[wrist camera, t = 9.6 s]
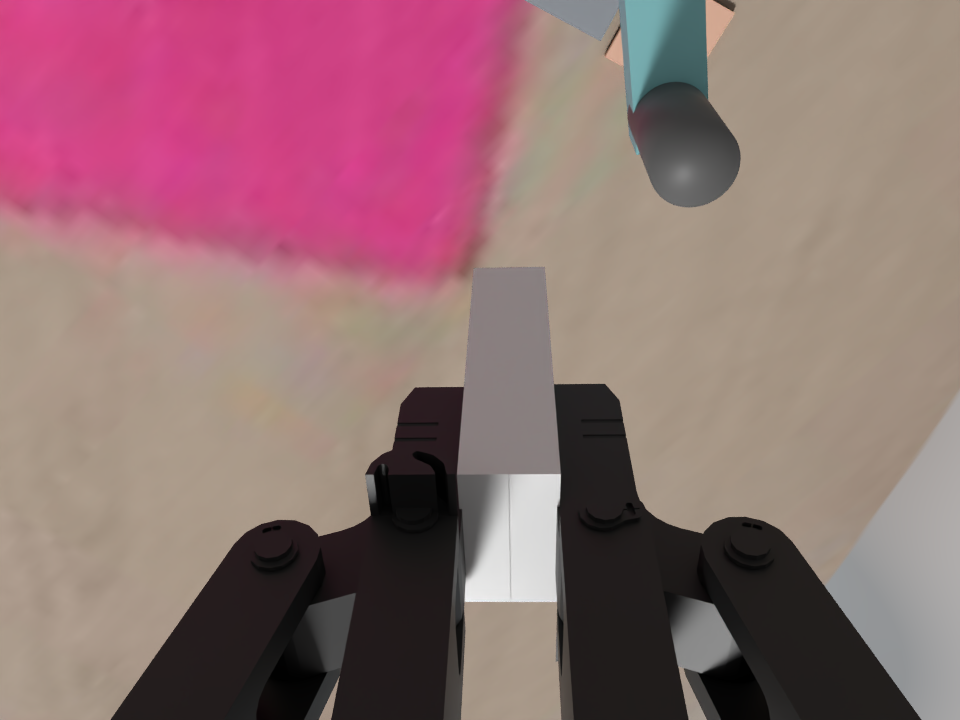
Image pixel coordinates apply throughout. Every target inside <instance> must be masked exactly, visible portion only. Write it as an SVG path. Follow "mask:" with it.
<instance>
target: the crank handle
mask: <svg viewBox="0 0 960 720" xmlns="http://www.w3.org/2000/svg"><path fill="white" fill-rule="evenodd" d="M619 12H620V25H621V38H622V50H623V63H624V76H625V89H626V101H627V114H628V127H629V136H630V139H631V142H632V144H633V147H634V149H635V152H636V155H638V154H640V155H641V158H642V160H643V163H644V165H645V168H646V170H647V173H648V176H649V178H650V181H651V183H652V185H653V188H654V189H655V191H656V192H657V193H658V194H659V196H660V197H662V198H663V199H664V200H666V201H667V202H669V203H671V204H673V205H676V206H681V207H697V206H702V205H705V204H708V203H710V202H712V201H714V200H716V199H717V198H719V197H720V196H721V195H723V194H724V193H725V192H726V191H727V190H728V189H729V187H730V186H731V185H732V183H733V182H734V180H735V178H736V176H737V174H738V171H739V167H740V150H739V146H738V143H737V141H736V139H735V137H734V136H733V135H732V133H731V132H730V130H729V129H728V128H727V126H726V125H725V123H724V122H723V121H722V119H721V118H720V116H719V115H718V114H717V112H716V111H715V109H714V108H713V107H712V105H711V104H710V102H709V101H708V78H707V38H706V0H619Z"/></svg>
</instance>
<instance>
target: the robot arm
mask: <svg viewBox="0 0 960 720" xmlns="http://www.w3.org/2000/svg"><path fill="white" fill-rule="evenodd" d="M365 477H366V484H367V491H368V498H369V505H370V512H371V516H370V517H368V518H367V519H366V520H365V521H363V522H361V523H359V524H358V525H356V526H354V527H351V528H348V529H345V530H342V531H339V532H335V533H331V534H327V535H323V536H319V537H318V534H317V533H316V532H315V531H314V530H313V529H312V528H311V527H310V526H309V525H306V524H303V523H301V522H298V521H295V520H276V521H272V522H268V523H264V524H261V525H259V526H257V527H255V528H253V529H252V530H250V531H248V532H246V533H245V534H244V535H243V536H242V537H241V538H240V539H239V540H238V541H237V542H236V543H235V544H234V545H233V547H232V548H231V550H230V551H229V552H228V554H227V555H226V557H225V558H224V559H223V561H222V562H221V564H220V565H219V567H218V568H217V569H216V571H215V572H214V574H213V575H212V576H211V578H210V579H209V581H208V582H207V584H206V585H205V586H204V588H203V589H202V591H201V592H200V593H199V595H198V596H197V598H196V599H195V601H194V602H193V603H192V605H191V606H190V608H189V609H188V611H187V612H186V613H185V615H184V616H183V618H182V619H181V620H180V622H179V623H178V625H177V626H176V628H175V629H174V630H173V632H172V633H171V635H170V636H169V637H168V639H167V640H166V642H165V643H164V645H163V646H162V647H161V649H160V650H159V652H158V653H157V654H156V656H155V657H154V659H153V660H152V662H151V663H150V664H149V666H148V667H147V669H146V670H145V672H144V673H143V674H142V676H141V677H140V679H139V680H138V681H137V683H136V684H135V686H134V687H133V689H132V690H131V691H130V693H129V694H128V696H127V697H126V698H125V700H124V701H123V703H122V704H121V706H120V707H119V708H118V710H117V711H116V713H115V714H114V716H113V717H112V718H111V720H319V718H320V716H321V713H322V711H323V709H324V707H325V705H326V703H327V701H328V699H329V697H330V695H331V692H332V690H333V688H334V686H335V684H336V682H337V680H338V678H339V676H340V678H339V683H338V688H337V693H336V698H335V703H334V708H333V713H332V718H331V720H461V705H462V685H463V666H464V647H465V617H464V600H465V602H557V637H556V661H558V663H559V682H560V700H561V719H562V720H688V714H687V709H686V704H685V699H684V694H683V689H682V684H681V679H680V674H679V668H678V666H679V667H682V668H684V671H685V675H686V677H687V679H688V681H689V683H690V685H691V688H692V690H693V692H694V694H695V696H696V698H697V700H698V702H699V704H700V706H701V708H702V710H703V712H704V714H705V716H706V718H707V720H921V719H920V717H919V716H918V714H917V713H916V712H915V710H914V709H913V707H912V706H911V705H910V703H909V702H908V701H907V699H906V698H905V696H904V695H903V694H902V692H901V691H900V690H899V688H898V687H897V685H896V684H895V683H894V682H893V680H892V679H891V677H890V676H889V674H888V673H887V672H886V670H885V669H884V668H883V666H882V665H881V664H880V662H879V661H878V659H877V658H876V657H875V655H874V654H873V652H872V651H871V650H870V648H869V647H868V646H867V644H866V643H865V642H864V640H863V639H862V637H861V636H860V634H859V633H858V632H857V630H856V629H855V628H854V627H853V625H852V623H851V622H850V621H849V619H848V618H847V617H846V615H845V614H844V613H843V611H842V610H841V608H840V607H839V606H838V604H837V603H836V601H835V600H834V599H833V597H832V596H831V595H830V593H829V592H828V591H827V589H826V588H825V586H824V585H823V584H822V582H821V581H820V579H819V578H818V577H817V575H816V574H815V572H814V571H813V570H812V568H811V567H810V566H809V564H808V563H807V561H806V560H805V559H804V557H803V556H802V555H801V553H800V552H799V550H798V549H797V548H796V546H795V545H794V544H793V542H792V541H791V540H790V539H789V538H788V537H787V536H786V535H785V534H784V533H783V532H782V531H781V530H779V529H778V528H776V527H774V526H772V525H770V524H768V523H766V522H764V521H761V520H757V519H752V518H748V517H728V518H725V519H722V520H719V521H717V522H714V523H713V524H712V525H711V526H710V527H709V528H708V529H706V530H705V531H704V534H702V533H698V532H694V531H690V530H685V529H681V528H678V527H675V526H672V525H669V524H667V523H665V522H663V521H661V520H659V519H657V518H656V517H655V516H653V515H652V514H651V513H650V512H648V511H647V510H646V509H645V506H644V504H643V503H642V502H641V501H640V500H639V497H638V494H637V491H636V486H635V481H634V475H633V470H632V465H631V460H630V454H629V449H628V444H627V438H626V433H625V428H624V423H623V417H622V412H621V406H620V401H619V399H618V398H617V397H616V396H615V395H614V394H613V393H612V391H611V390H610V389H609V388H608V387H607V386H606V385H605V384H554V380H553V367H552V354H551V341H550V328H549V316H548V303H547V290H546V277H545V267H508V268H474V271H473V283H472V296H471V308H470V320H469V332H468V345H467V357H466V369H465V381H464V387H419V388H414V389H413V391H412V392H411V393H410V394H409V395H408V396H407V398H406V399H405V400H404V401H403V402H402V403H401V407H400V412H399V417H398V426H397V428H396V433H395V442H394V444H393V449H392V450H391V451H389V452H386V453H384V454H382V455H381V456H380V457H378V458H377V459H376V460H375V461H373V462H372V463H371V464H370V466H369V468H368V470H367V472H366V474H365Z"/></svg>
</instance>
